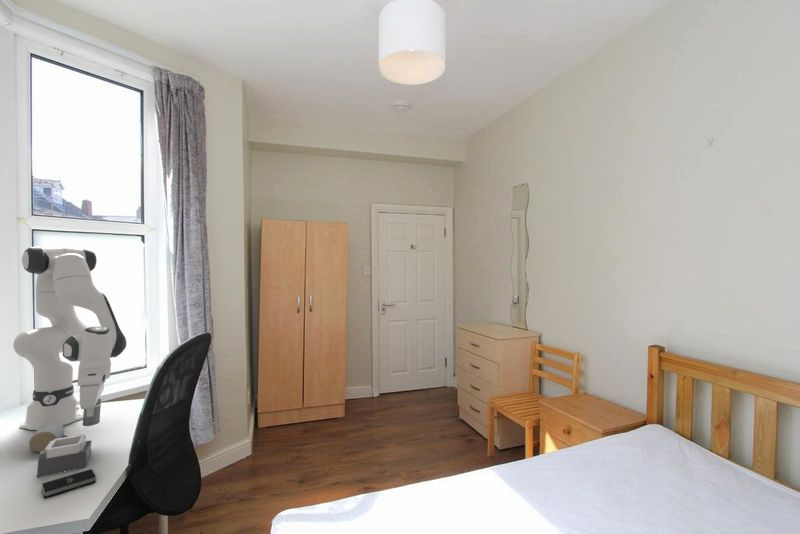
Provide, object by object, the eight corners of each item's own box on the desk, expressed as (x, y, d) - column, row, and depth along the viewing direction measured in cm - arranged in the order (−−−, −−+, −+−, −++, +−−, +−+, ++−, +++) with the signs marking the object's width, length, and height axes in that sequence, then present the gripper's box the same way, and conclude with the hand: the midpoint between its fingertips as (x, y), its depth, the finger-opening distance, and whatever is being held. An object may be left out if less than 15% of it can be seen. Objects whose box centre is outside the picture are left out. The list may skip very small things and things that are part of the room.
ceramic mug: (26, 456, 121) (28, 432, 121) (35, 445, 128) (37, 423, 128) (68, 449, 126) (70, 427, 126) (75, 440, 133) (76, 418, 134)
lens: (83, 421, 130) (85, 398, 130) (101, 419, 132) (102, 397, 133) (80, 427, 126) (82, 403, 126) (98, 424, 128) (100, 401, 128)
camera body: (46, 464, 116) (47, 440, 116) (90, 455, 122) (91, 432, 122) (37, 477, 108) (38, 451, 108) (85, 467, 114) (86, 443, 114)
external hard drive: (96, 484, 106) (96, 477, 106) (43, 501, 98) (43, 493, 98) (91, 475, 111) (92, 468, 111) (40, 490, 102) (41, 483, 102)
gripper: (88, 367, 137) (86, 404, 136) (76, 382, 119) (73, 425, 119) (110, 365, 140) (107, 402, 140) (101, 380, 123) (98, 421, 122)
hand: (91, 412), depth 129 cm, fingers closed on lens, 5 cm apart
